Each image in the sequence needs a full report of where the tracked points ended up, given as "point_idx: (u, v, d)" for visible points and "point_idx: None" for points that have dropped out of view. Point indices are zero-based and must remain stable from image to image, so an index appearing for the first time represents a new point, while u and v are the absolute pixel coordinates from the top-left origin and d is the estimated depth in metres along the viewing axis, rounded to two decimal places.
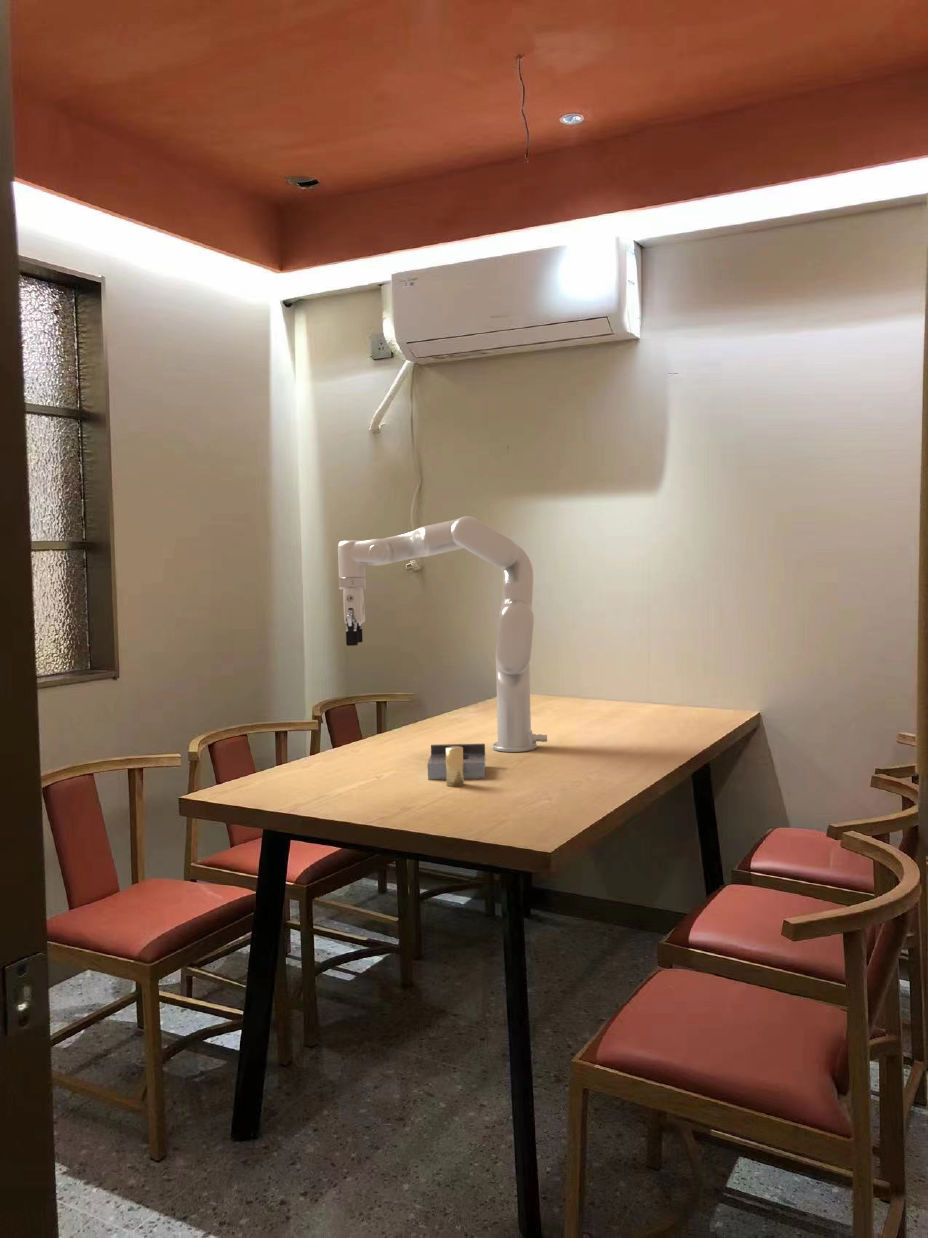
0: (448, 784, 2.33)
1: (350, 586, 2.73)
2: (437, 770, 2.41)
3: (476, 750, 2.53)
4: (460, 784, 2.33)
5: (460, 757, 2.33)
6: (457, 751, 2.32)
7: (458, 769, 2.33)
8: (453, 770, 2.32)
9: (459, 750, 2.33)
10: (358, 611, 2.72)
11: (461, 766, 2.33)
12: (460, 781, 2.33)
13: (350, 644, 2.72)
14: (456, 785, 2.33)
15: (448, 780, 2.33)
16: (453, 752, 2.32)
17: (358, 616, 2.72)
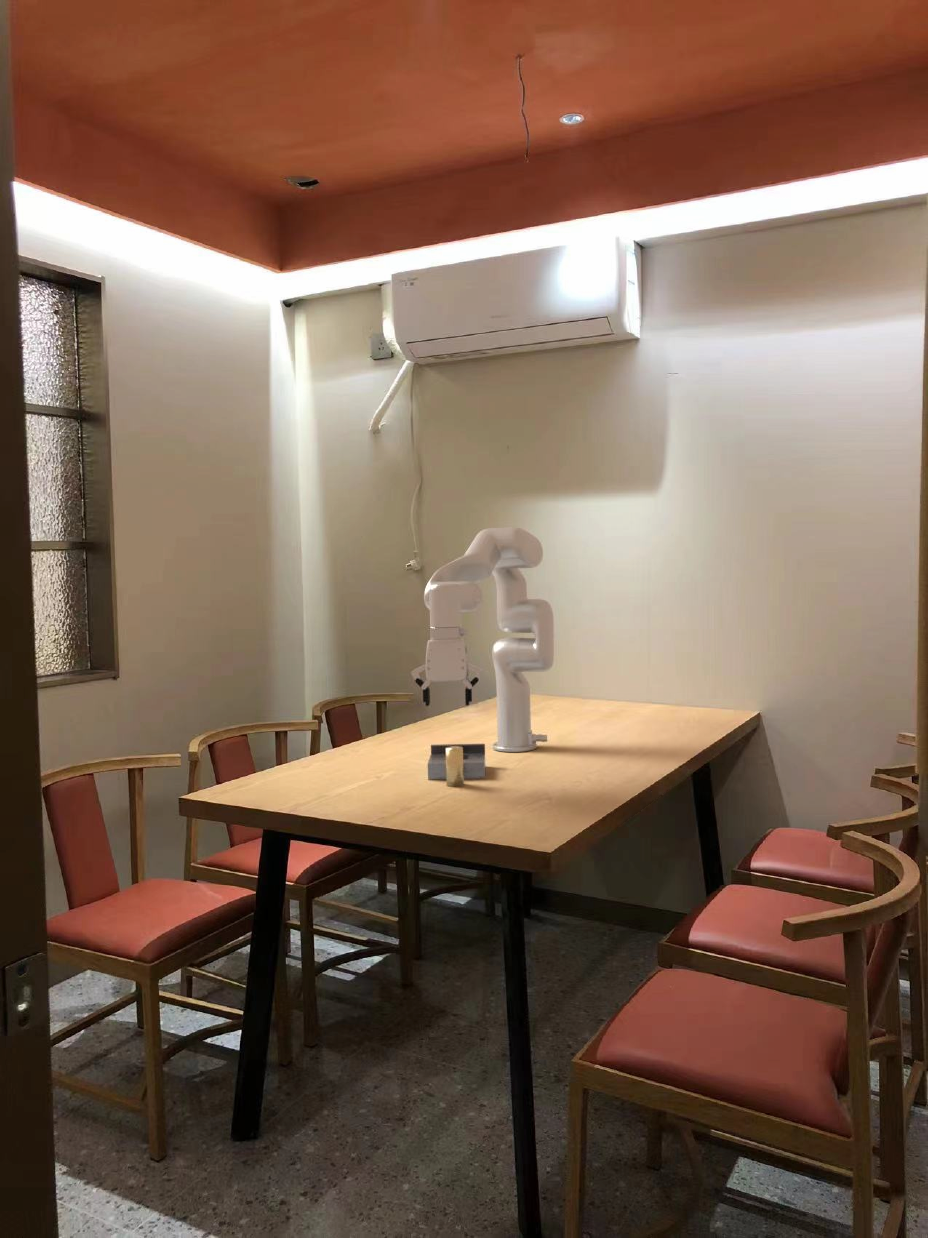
0: (448, 784, 2.33)
1: (461, 636, 2.34)
2: (437, 770, 2.41)
3: (476, 750, 2.53)
4: (460, 784, 2.33)
5: (460, 757, 2.33)
6: (457, 751, 2.32)
7: (458, 769, 2.33)
8: (453, 770, 2.32)
9: (459, 750, 2.33)
10: None
11: (461, 766, 2.33)
12: (460, 781, 2.33)
13: (468, 703, 2.34)
14: (456, 785, 2.33)
15: (448, 780, 2.33)
16: (453, 752, 2.32)
17: None
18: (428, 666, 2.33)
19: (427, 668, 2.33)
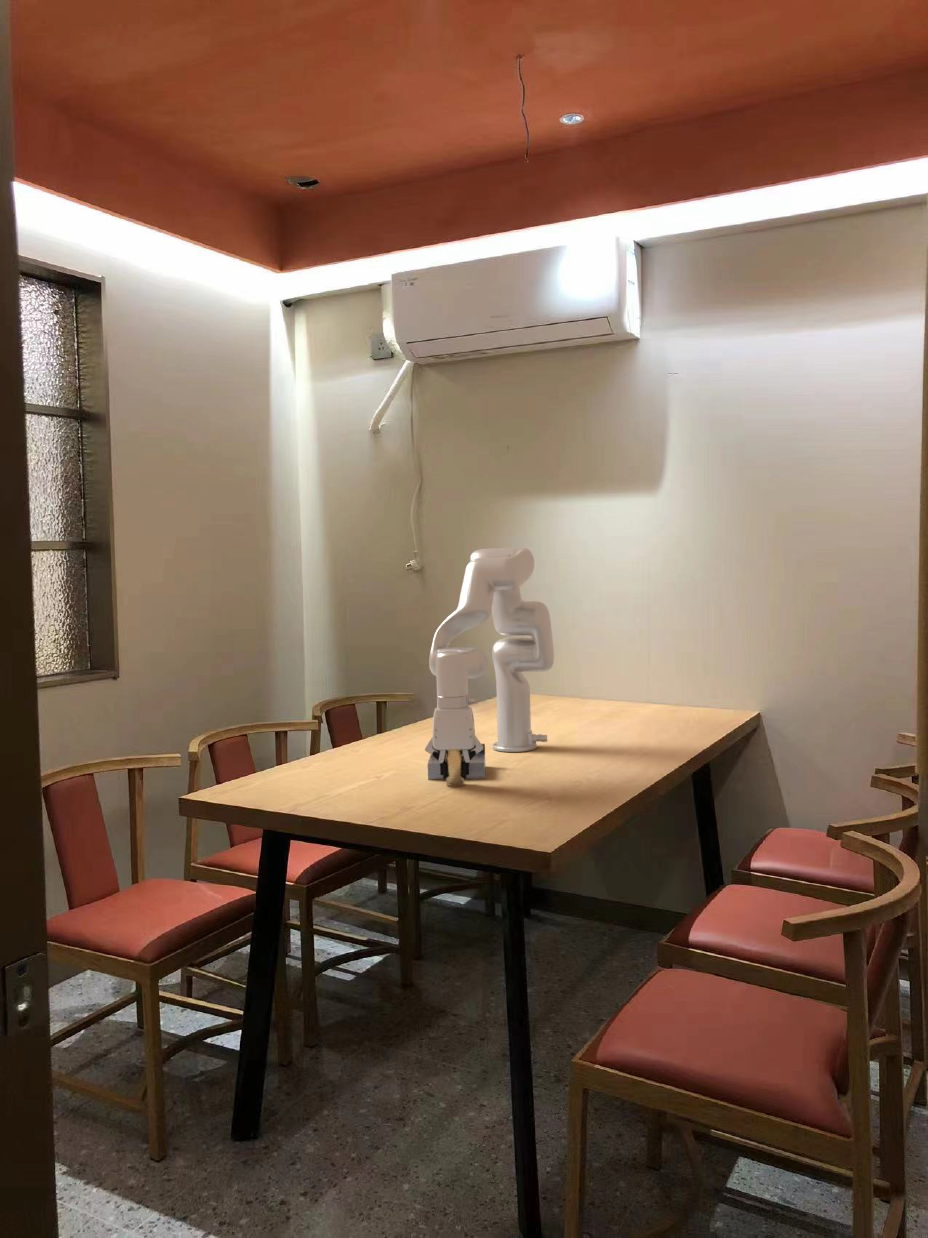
0: (448, 784, 2.33)
1: None
2: (437, 770, 2.41)
3: None
4: (460, 784, 2.33)
5: (460, 757, 2.33)
6: (457, 751, 2.32)
7: (458, 769, 2.33)
8: (453, 770, 2.32)
9: (459, 750, 2.33)
10: None
11: (461, 766, 2.33)
12: (460, 781, 2.33)
13: None
14: (456, 785, 2.33)
15: (447, 780, 2.33)
16: (453, 752, 2.32)
17: None
18: (436, 736, 2.32)
19: (434, 737, 2.32)
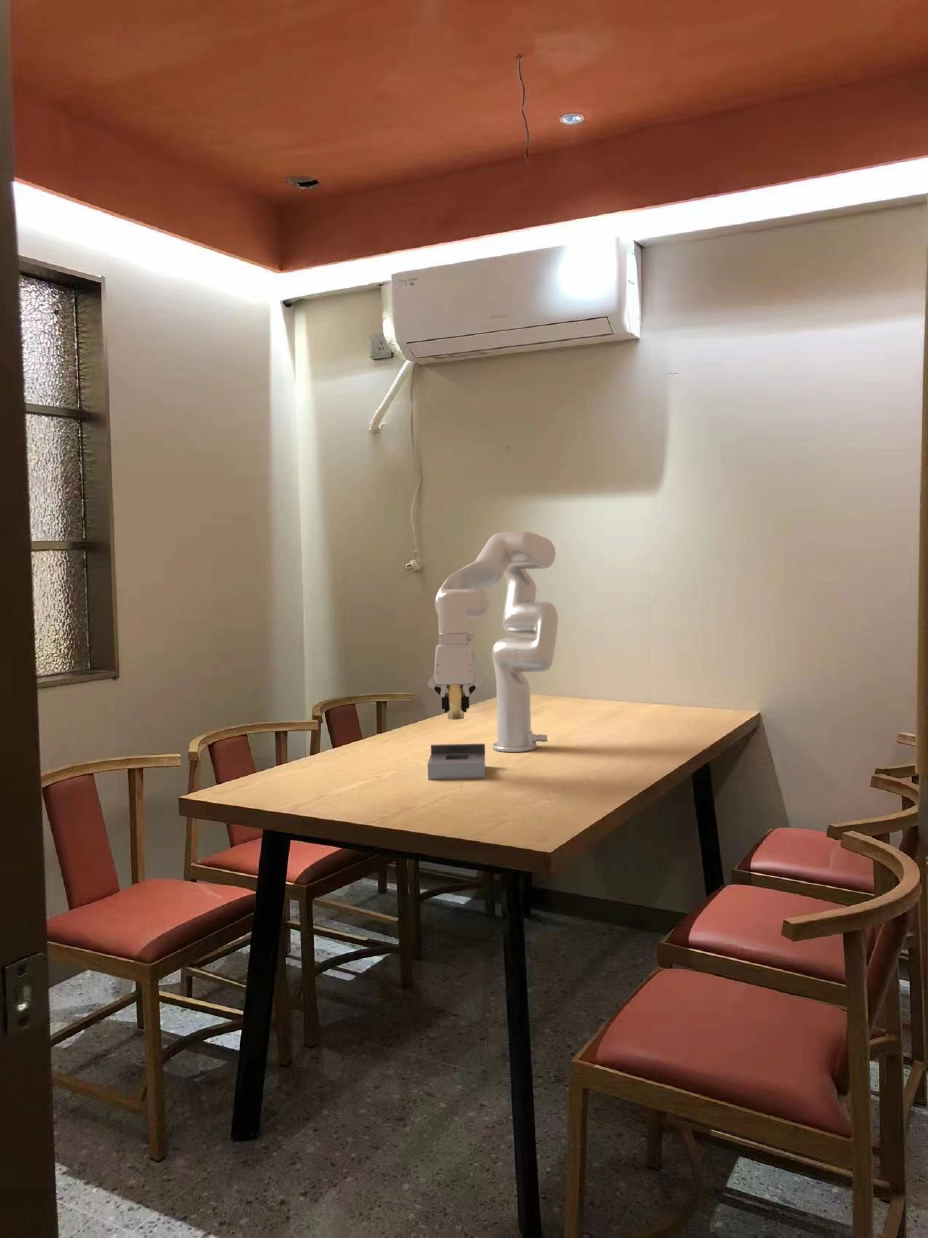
0: (449, 717, 2.45)
1: (468, 642, 2.45)
2: (437, 770, 2.41)
3: (476, 750, 2.53)
4: (460, 717, 2.45)
5: (460, 691, 2.45)
6: (458, 685, 2.44)
7: (458, 703, 2.45)
8: (454, 704, 2.44)
9: (459, 684, 2.45)
10: None
11: (461, 700, 2.45)
12: (460, 714, 2.45)
13: (466, 710, 2.46)
14: (457, 718, 2.45)
15: (449, 713, 2.45)
16: (454, 686, 2.44)
17: None
18: (437, 671, 2.44)
19: (436, 672, 2.44)
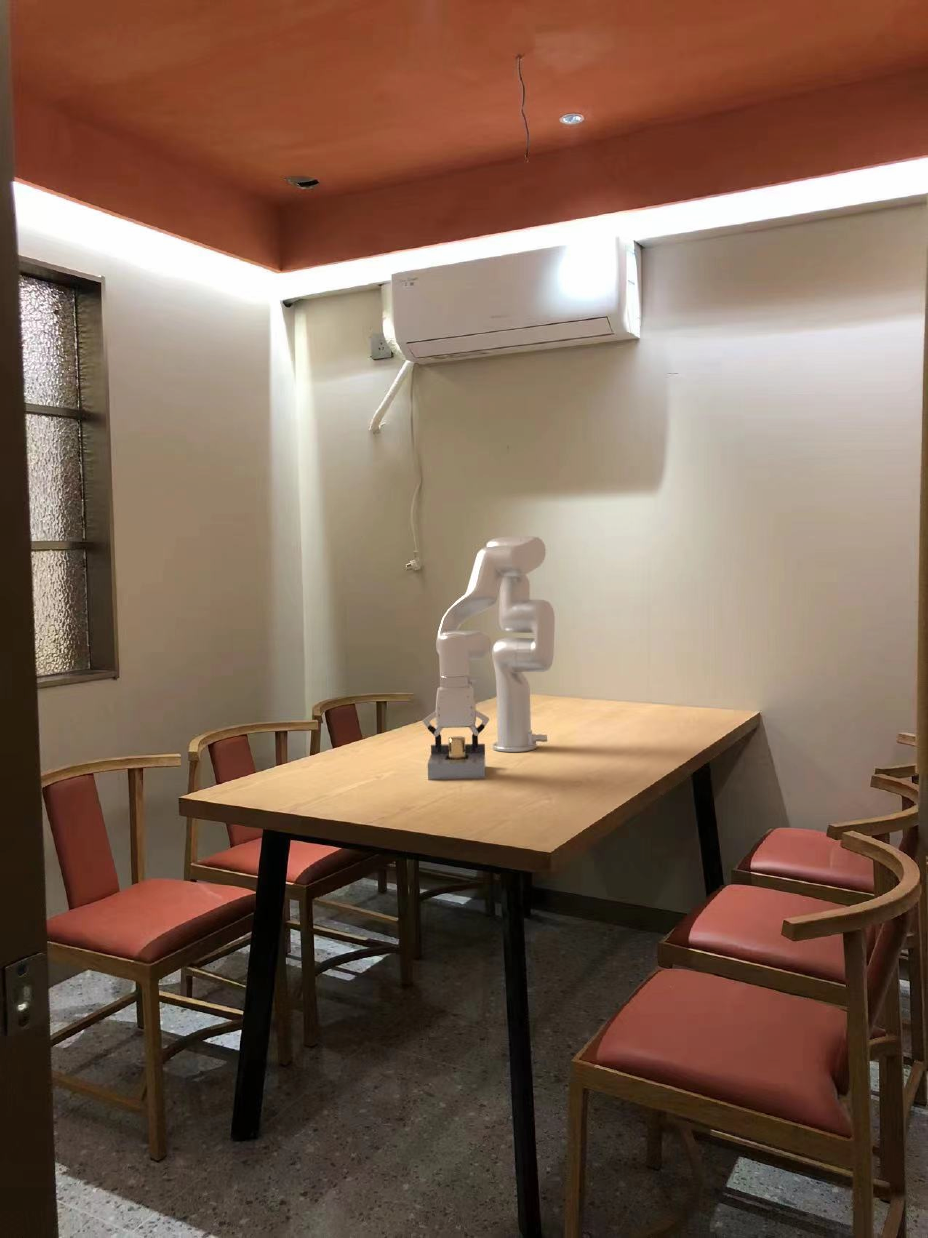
0: None
1: (469, 684, 2.46)
2: (437, 770, 2.41)
3: (476, 750, 2.53)
4: None
5: (462, 746, 2.46)
6: (459, 741, 2.45)
7: (460, 758, 2.46)
8: (455, 759, 2.45)
9: (461, 740, 2.46)
10: None
11: (463, 755, 2.46)
12: None
13: None
14: None
15: None
16: (456, 742, 2.45)
17: None
18: (439, 713, 2.45)
19: (437, 715, 2.45)
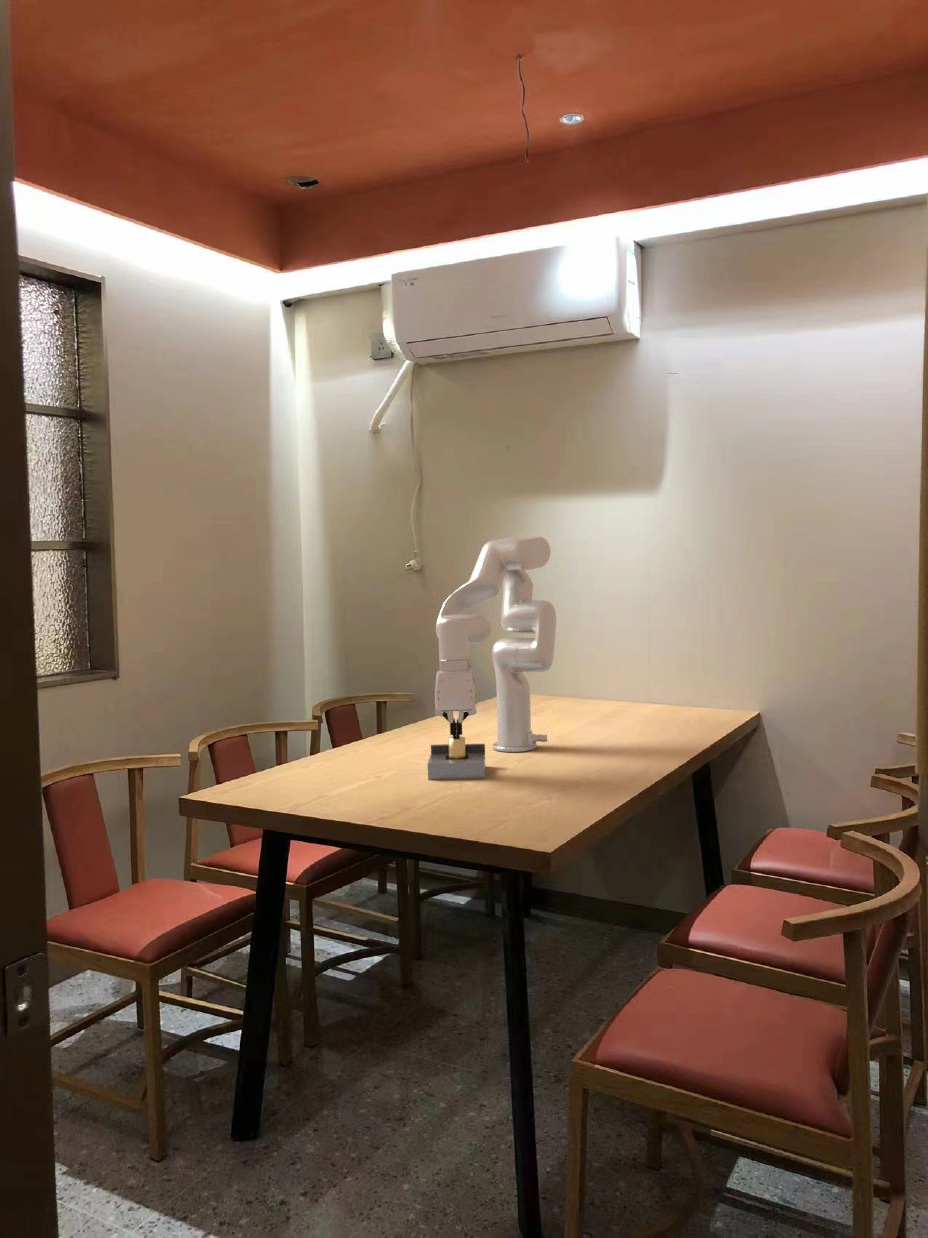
0: None
1: None
2: (437, 770, 2.41)
3: (476, 750, 2.53)
4: None
5: (462, 746, 2.46)
6: (459, 741, 2.45)
7: (460, 758, 2.46)
8: (455, 759, 2.45)
9: (461, 740, 2.46)
10: None
11: (463, 755, 2.46)
12: None
13: (459, 736, 2.47)
14: None
15: None
16: (456, 742, 2.45)
17: None
18: (438, 697, 2.44)
19: (437, 698, 2.45)
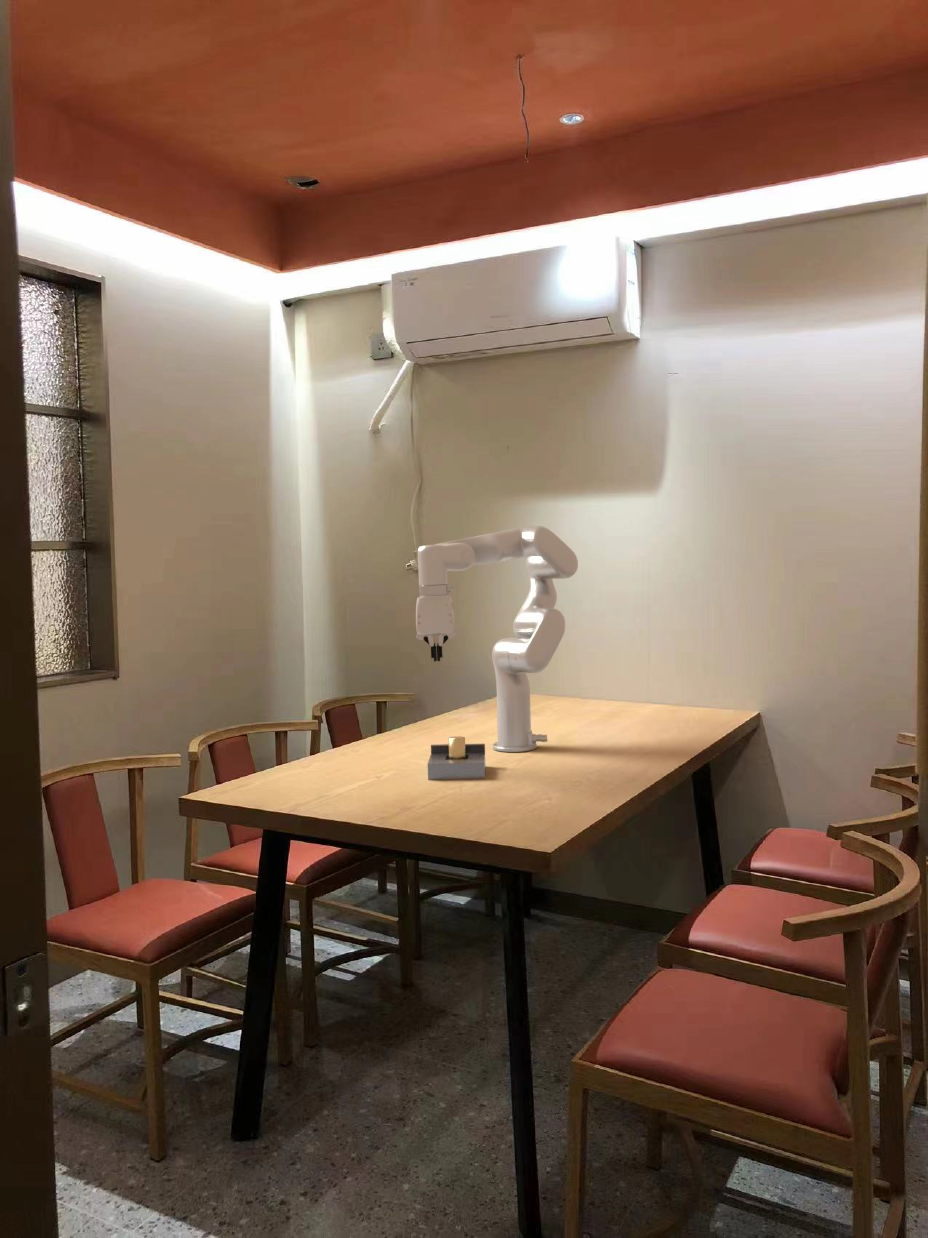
0: None
1: (447, 593, 2.57)
2: (437, 770, 2.41)
3: (476, 750, 2.53)
4: None
5: (462, 746, 2.46)
6: (459, 741, 2.45)
7: (460, 758, 2.46)
8: (455, 759, 2.45)
9: (461, 740, 2.46)
10: None
11: (463, 755, 2.46)
12: None
13: None
14: None
15: None
16: (456, 742, 2.45)
17: None
18: (419, 621, 2.55)
19: (418, 623, 2.55)
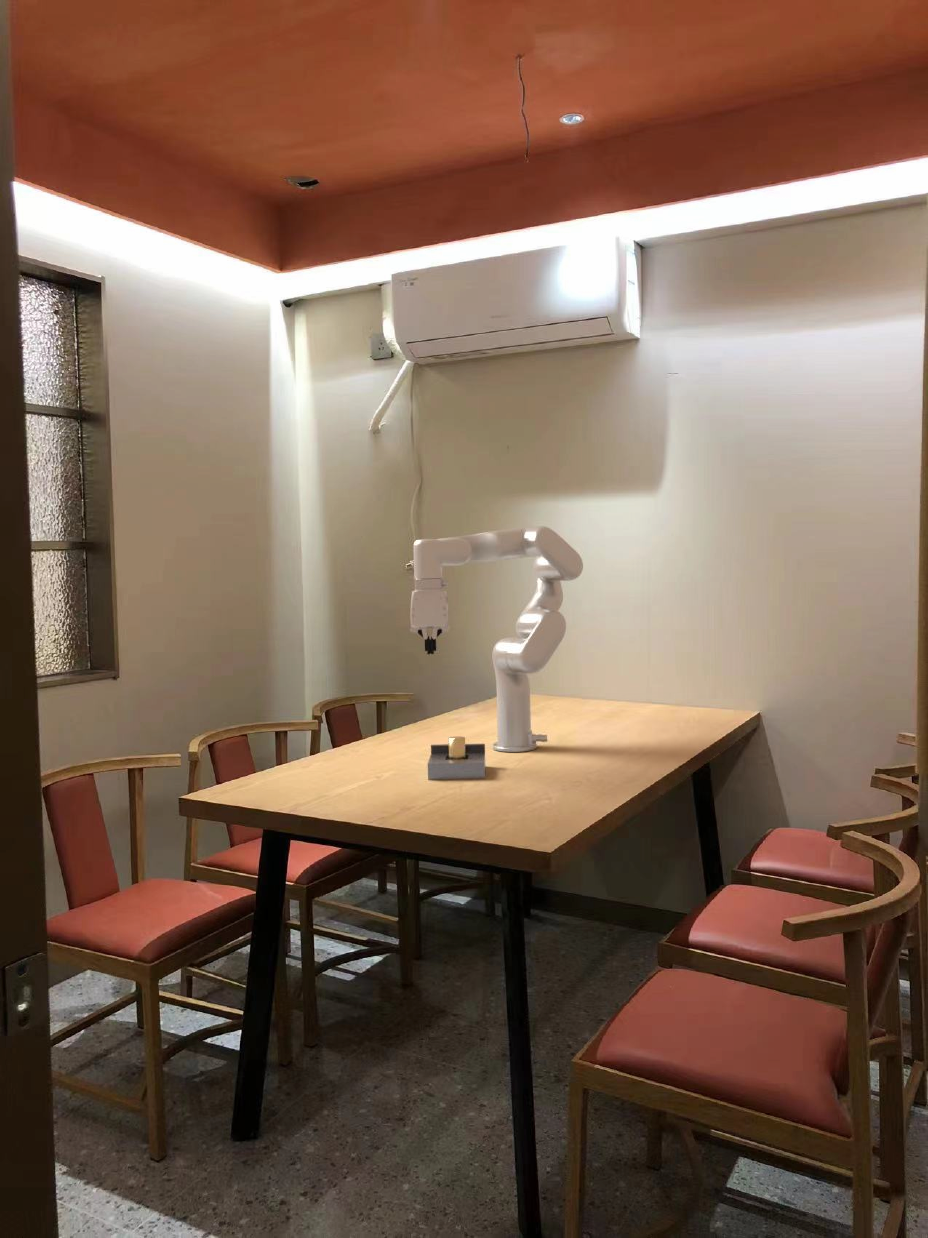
0: None
1: (442, 587, 2.60)
2: (437, 770, 2.41)
3: (476, 750, 2.53)
4: None
5: (462, 746, 2.46)
6: (459, 741, 2.45)
7: (460, 758, 2.46)
8: (455, 759, 2.45)
9: (461, 740, 2.46)
10: None
11: (463, 755, 2.46)
12: None
13: (433, 652, 2.61)
14: None
15: None
16: (456, 742, 2.45)
17: (448, 618, 2.62)
18: (413, 614, 2.58)
19: (412, 616, 2.58)
